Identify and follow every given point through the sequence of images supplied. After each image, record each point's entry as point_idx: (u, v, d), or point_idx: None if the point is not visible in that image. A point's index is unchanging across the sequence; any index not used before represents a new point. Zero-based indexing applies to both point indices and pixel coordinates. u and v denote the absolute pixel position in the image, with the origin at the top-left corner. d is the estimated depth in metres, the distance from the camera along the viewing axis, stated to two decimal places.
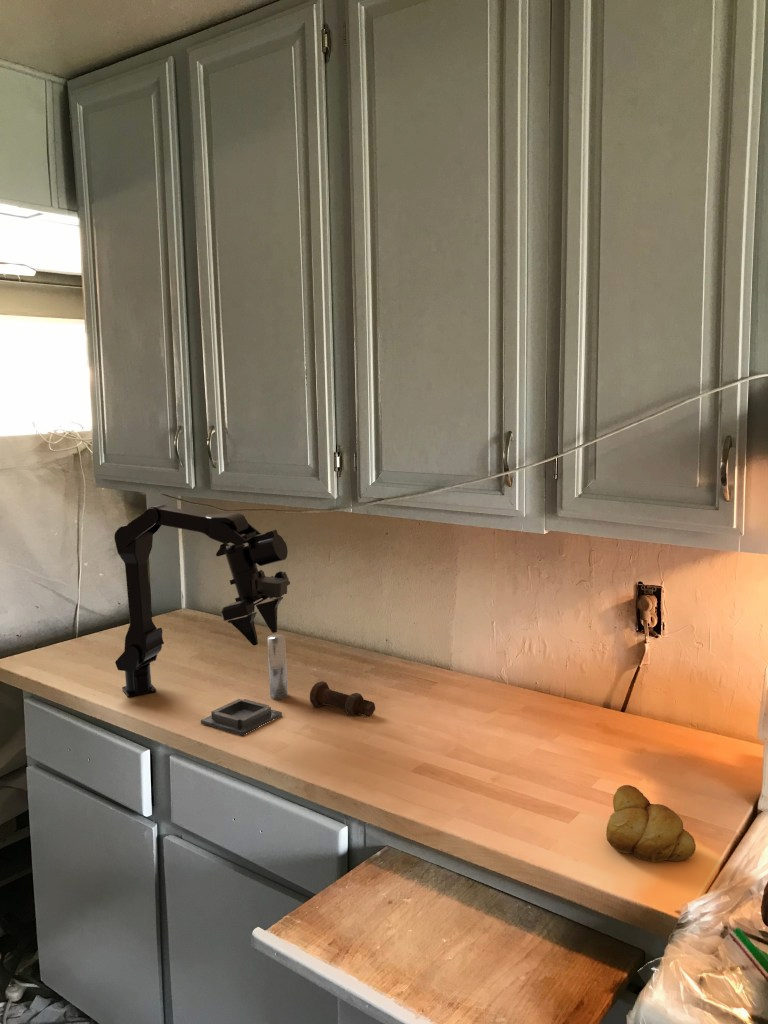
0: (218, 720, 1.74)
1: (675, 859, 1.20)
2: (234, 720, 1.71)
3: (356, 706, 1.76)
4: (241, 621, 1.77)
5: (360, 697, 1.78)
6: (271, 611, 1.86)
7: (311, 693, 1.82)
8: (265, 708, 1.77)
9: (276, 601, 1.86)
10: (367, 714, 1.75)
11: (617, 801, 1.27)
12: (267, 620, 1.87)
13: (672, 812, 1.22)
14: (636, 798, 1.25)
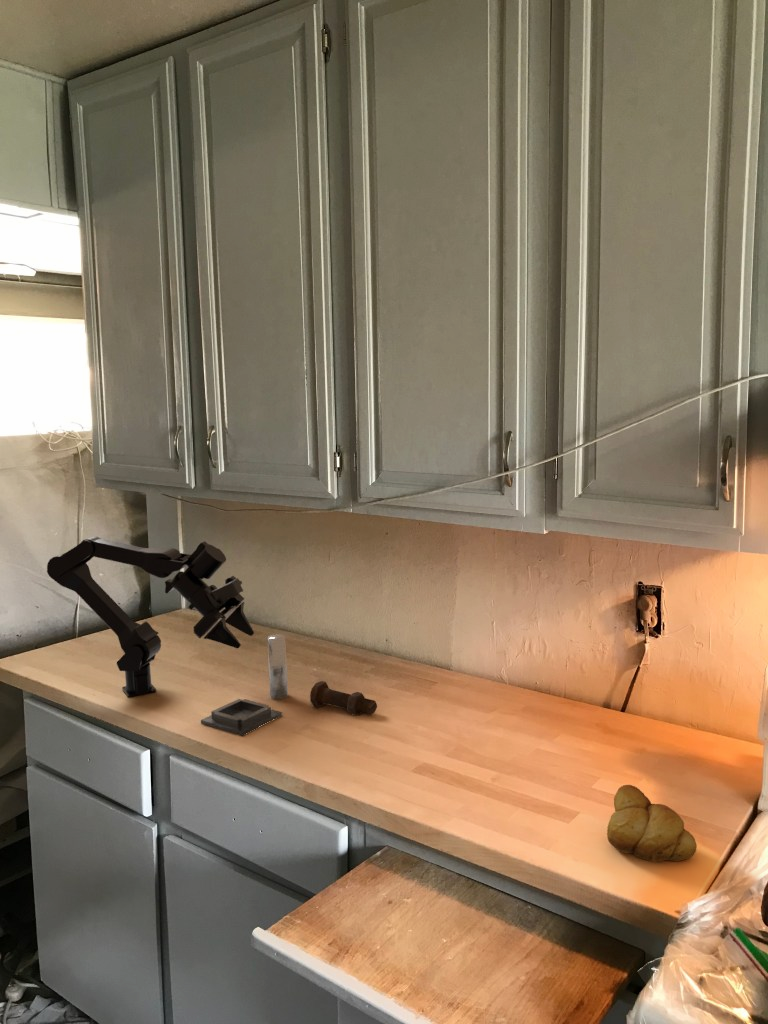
0: (218, 720, 1.74)
1: (676, 859, 1.20)
2: (234, 720, 1.71)
3: (358, 705, 1.77)
4: (216, 632, 1.83)
5: (361, 696, 1.79)
6: (240, 618, 1.93)
7: (311, 693, 1.82)
8: (265, 708, 1.77)
9: (239, 606, 1.93)
10: (369, 713, 1.76)
11: (618, 801, 1.27)
12: (241, 628, 1.94)
13: (673, 812, 1.22)
14: (636, 798, 1.25)
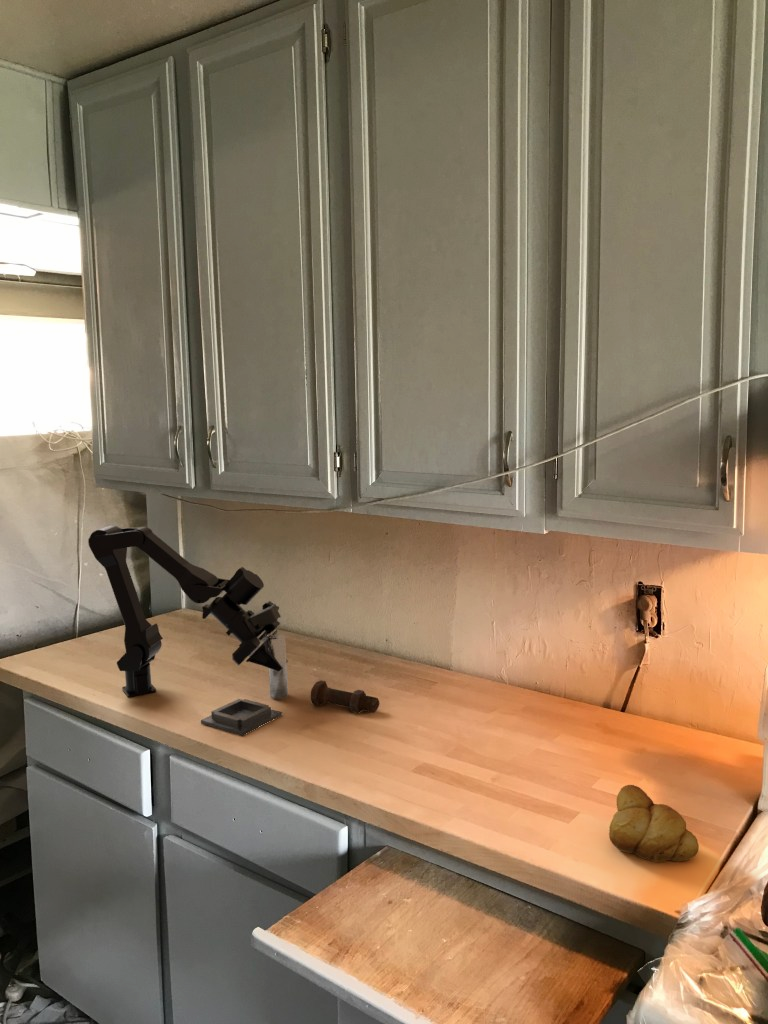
0: (218, 720, 1.74)
1: (678, 859, 1.20)
2: (234, 720, 1.71)
3: (361, 703, 1.78)
4: (258, 655, 1.85)
5: (363, 694, 1.80)
6: None
7: (312, 693, 1.82)
8: (265, 708, 1.77)
9: None
10: (373, 710, 1.77)
11: (620, 801, 1.27)
12: None
13: (675, 812, 1.22)
14: (639, 798, 1.25)
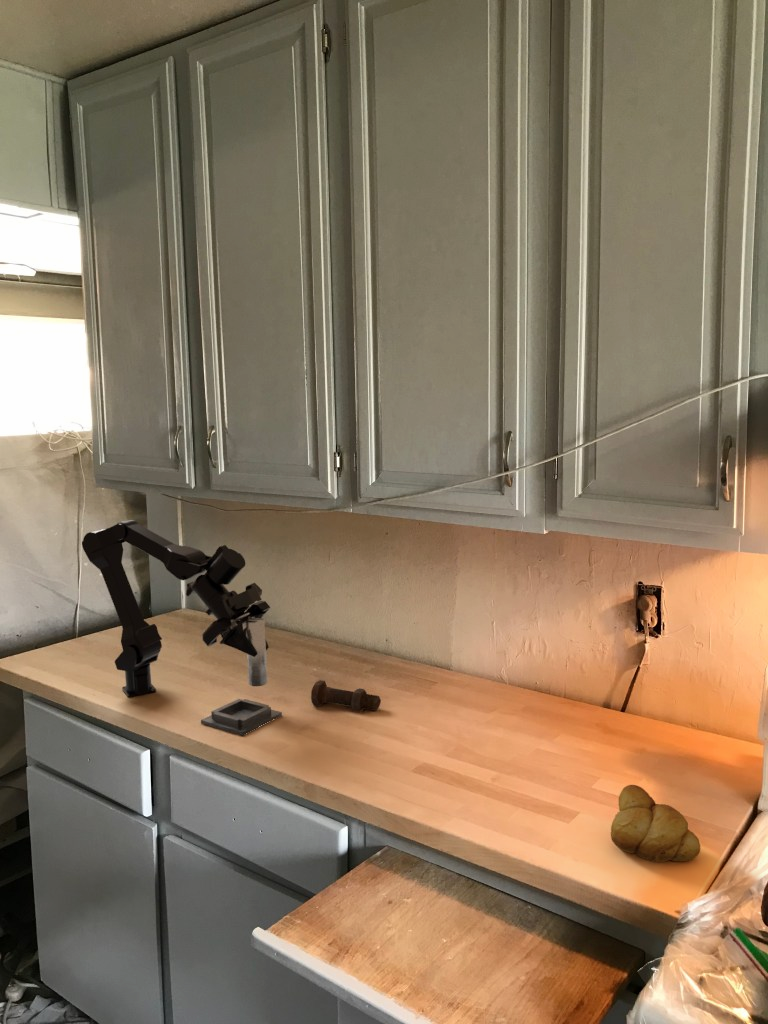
0: (218, 720, 1.74)
1: (679, 859, 1.20)
2: (234, 720, 1.71)
3: (363, 701, 1.79)
4: (233, 638, 1.77)
5: (364, 692, 1.81)
6: None
7: (312, 692, 1.82)
8: (265, 708, 1.77)
9: None
10: (375, 708, 1.78)
11: (622, 801, 1.27)
12: None
13: (677, 812, 1.22)
14: (641, 798, 1.25)
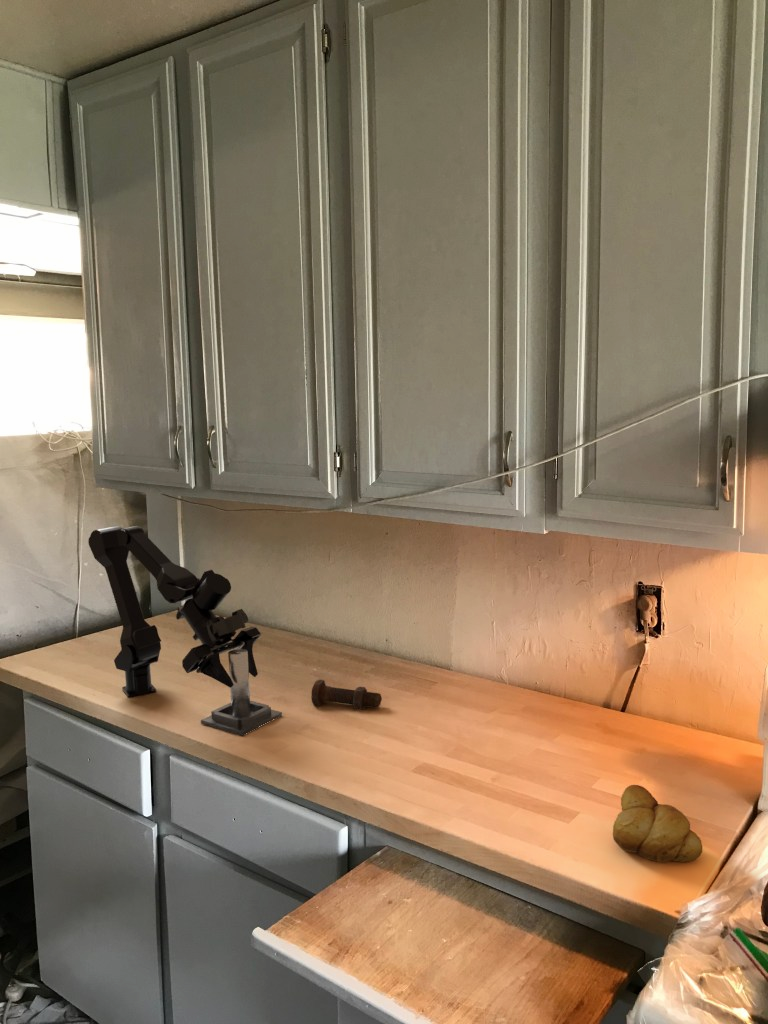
0: (218, 720, 1.74)
1: (681, 860, 1.20)
2: (234, 720, 1.71)
3: (364, 699, 1.80)
4: (210, 667, 1.73)
5: (365, 690, 1.82)
6: None
7: (313, 692, 1.82)
8: (265, 708, 1.77)
9: (246, 643, 1.79)
10: (377, 705, 1.80)
11: (624, 800, 1.27)
12: None
13: (679, 813, 1.22)
14: (643, 798, 1.25)
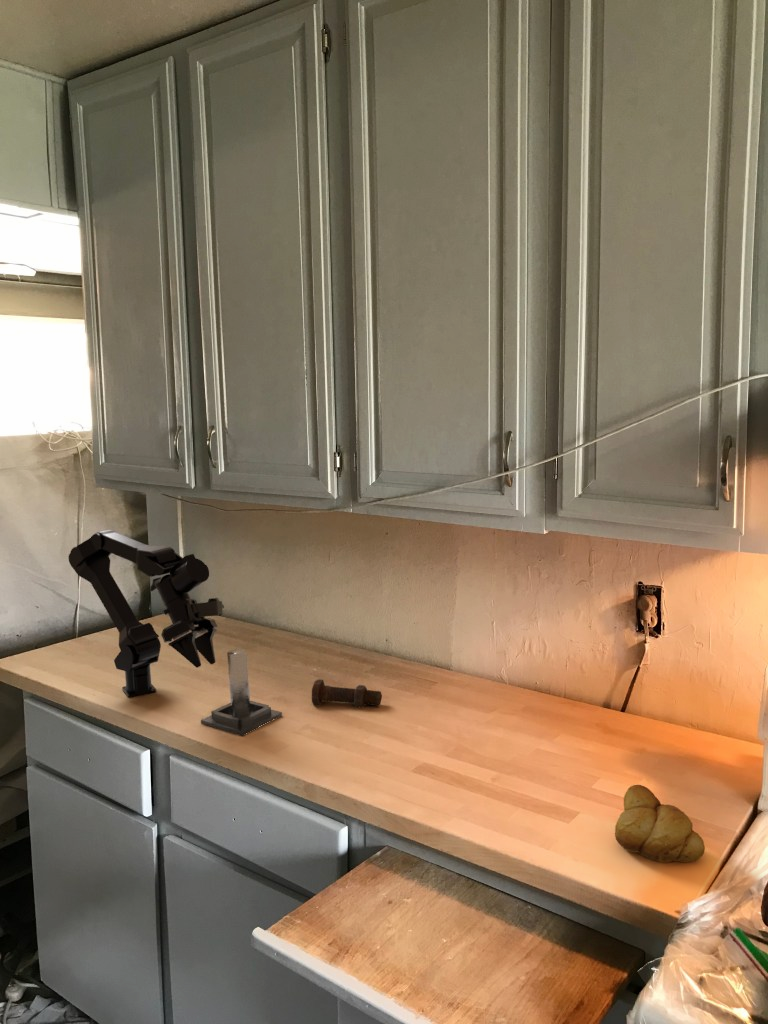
0: (218, 720, 1.74)
1: (683, 860, 1.20)
2: (234, 720, 1.71)
3: (365, 697, 1.81)
4: (182, 643, 1.76)
5: (365, 688, 1.83)
6: (207, 642, 1.87)
7: (313, 692, 1.83)
8: (265, 708, 1.77)
9: (211, 631, 1.87)
10: (378, 703, 1.81)
11: (627, 800, 1.27)
12: (204, 653, 1.86)
13: (681, 813, 1.22)
14: (645, 798, 1.25)
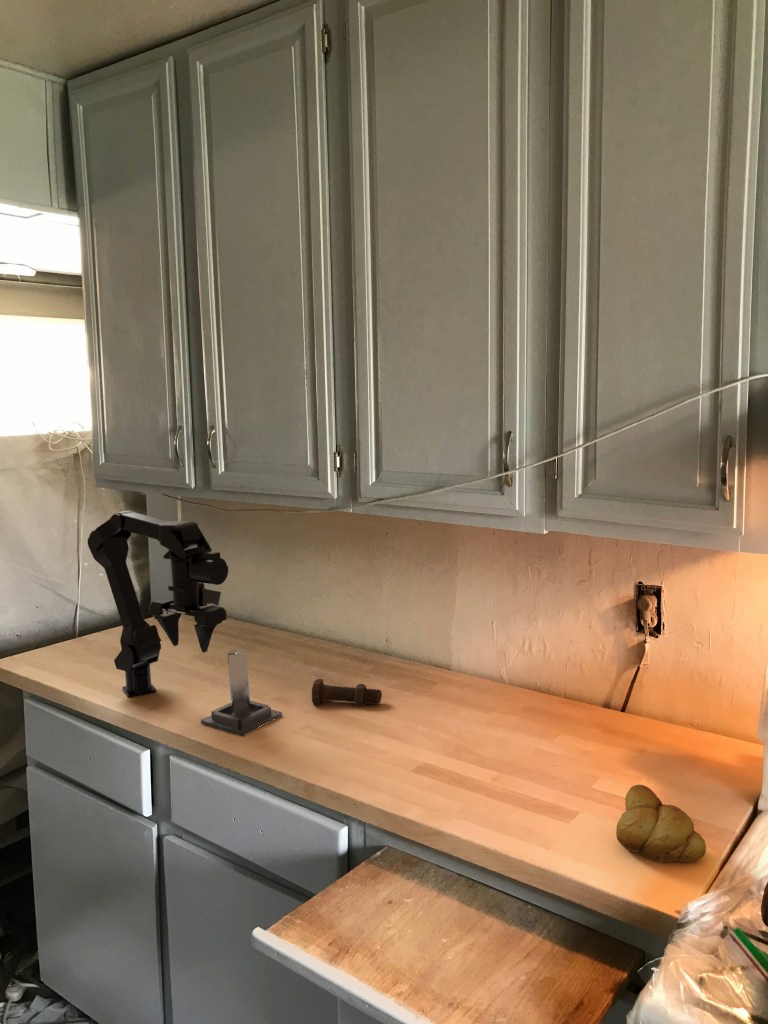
0: (218, 720, 1.74)
1: (684, 860, 1.20)
2: (234, 720, 1.71)
3: (366, 696, 1.82)
4: None
5: (365, 687, 1.84)
6: (175, 624, 1.86)
7: (313, 691, 1.83)
8: (265, 708, 1.77)
9: (180, 613, 1.88)
10: (378, 701, 1.82)
11: (628, 800, 1.27)
12: (171, 633, 1.85)
13: (683, 813, 1.22)
14: (647, 798, 1.25)
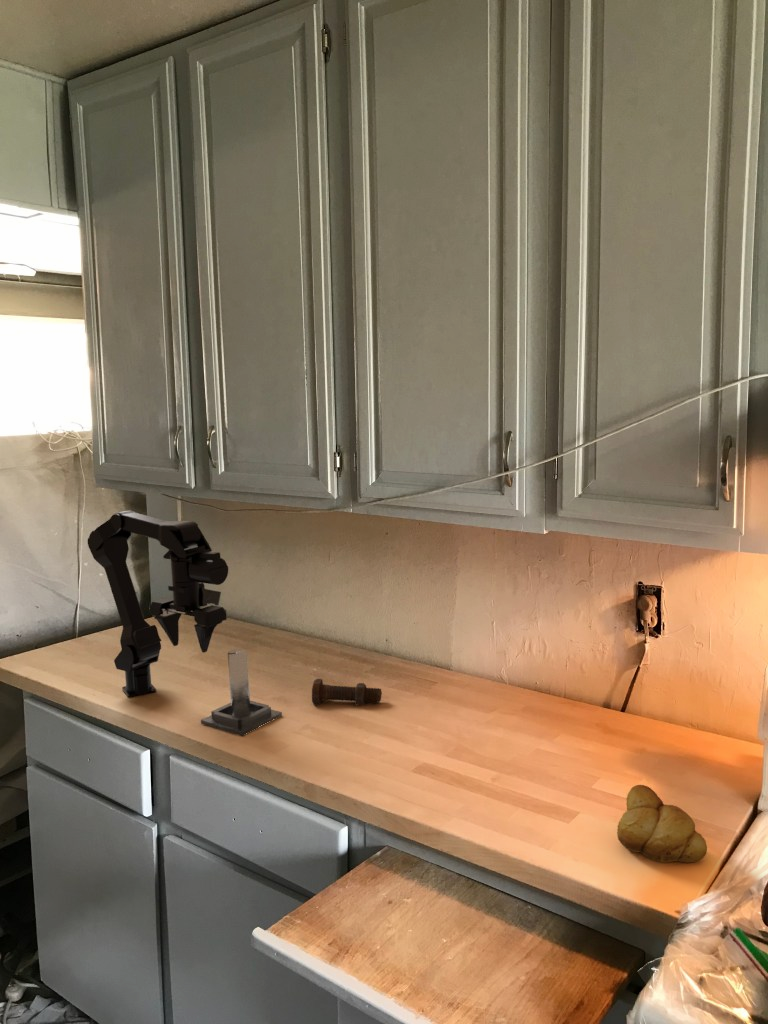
0: (218, 720, 1.74)
1: (685, 860, 1.20)
2: (234, 720, 1.71)
3: (366, 695, 1.82)
4: None
5: (365, 686, 1.84)
6: (175, 624, 1.86)
7: (313, 691, 1.83)
8: (265, 708, 1.77)
9: (180, 613, 1.88)
10: (379, 700, 1.82)
11: (629, 800, 1.27)
12: (171, 633, 1.85)
13: (684, 813, 1.22)
14: (648, 798, 1.25)
